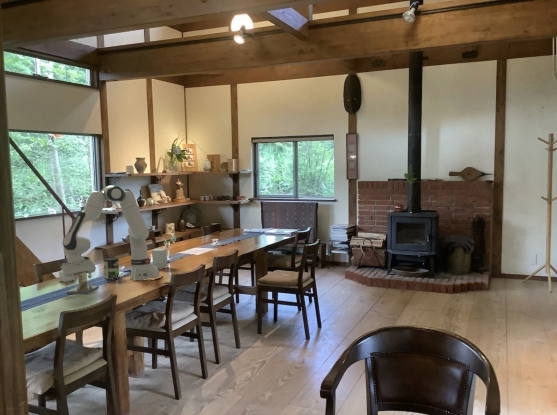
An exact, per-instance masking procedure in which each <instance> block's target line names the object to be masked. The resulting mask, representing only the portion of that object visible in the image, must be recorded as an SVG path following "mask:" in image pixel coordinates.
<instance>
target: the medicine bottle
mask: <svg viewBox="0 0 557 415" xmlns="http://www.w3.org/2000/svg"><path fill="white" fill-rule="evenodd" d="M58 275H59V281H60V282H62V281H63V282H62V283H68V282H73V281H74V280H73V279H72V278H71V277H64V275H63V271H62V270H59V271H58ZM72 280H73V281H72Z"/></svg>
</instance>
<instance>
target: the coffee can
mask: <svg viewBox="0 0 557 415" xmlns="http://www.w3.org/2000/svg"><path fill="white" fill-rule="evenodd" d="M119 261H120V260H119V257H106V258H103V272H104V279H105V278H106V279H105V280H107V279H112V278H116V277H118V275H119V276H120V267H119V266H120V264H119ZM112 280H113V279H112Z"/></svg>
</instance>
